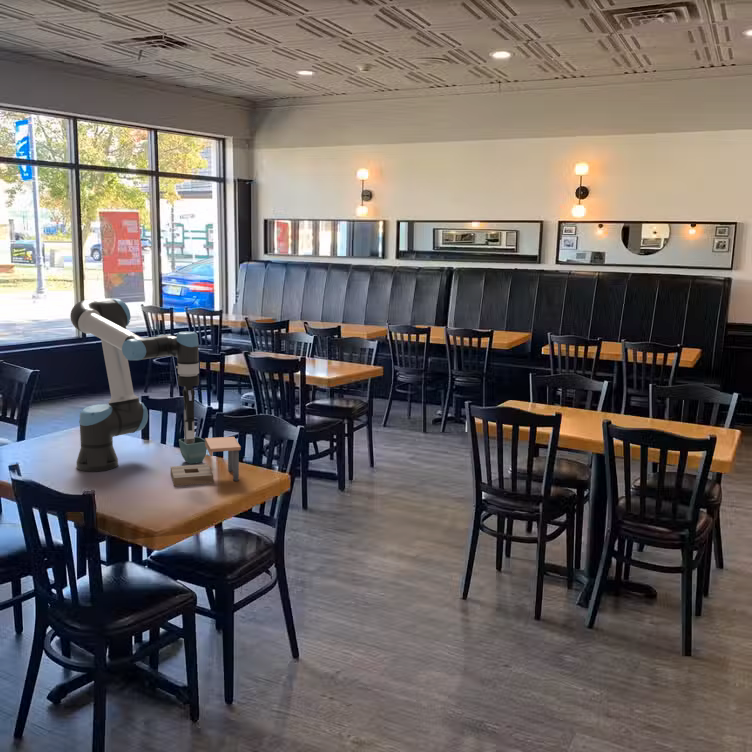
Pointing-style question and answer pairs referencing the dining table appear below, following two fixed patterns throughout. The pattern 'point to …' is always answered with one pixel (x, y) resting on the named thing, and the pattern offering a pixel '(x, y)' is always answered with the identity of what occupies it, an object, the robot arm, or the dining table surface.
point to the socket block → (191, 474)
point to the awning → (226, 445)
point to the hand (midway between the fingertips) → (189, 437)
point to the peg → (185, 432)
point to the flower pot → (193, 450)
